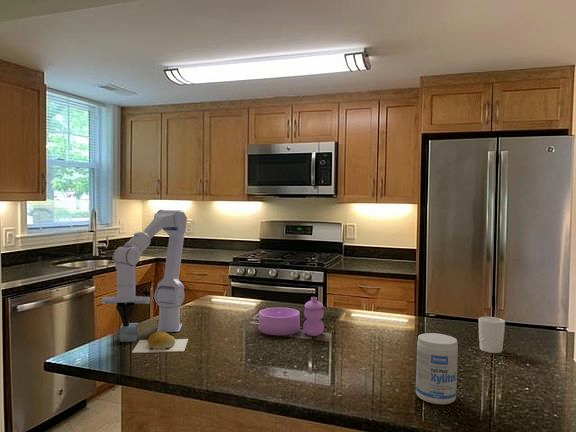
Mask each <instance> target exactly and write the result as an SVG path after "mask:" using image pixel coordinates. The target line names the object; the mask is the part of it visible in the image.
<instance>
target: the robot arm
mask: <svg viewBox="0 0 576 432" xmlns="http://www.w3.org/2000/svg"><path fill="white" fill-rule="evenodd" d="M187 221H188V217H187V215H186V213H185V211H183V210H182V209H178V210H174V209H172V210H171V209H159V210H157V212H156V213H154V216H153V219H152V221H151V222H150V223H149V224H148V225H147V226H146V227H145V229H144V230H143V231H138V232H135V233H134V234H133V236H132V237H131V238H130V239H129V240H128V241H126V242H125V244H124V245H122V246H119V247H117V248H116V249H115V250H114V252H113V255H112V256H111V257H112V261H113V263H114V266H115V268H114V269H115V270H116V296H105V297H102V298H101V305H112V304H113V305H116V307H115V309H116V310H117V312H118V314H119V315H120V318H121V322H122V324H123V327H128V326H129V323H131V322H130V321H131V317H132V314H133V311H134V309H135V307H136V305H137V304H145V305H149V304H150V303H151V296H141V295H140V296H139V295H136V292H137V291H136V285H137V283H136V281H137V280H136V278H137V277H136V274H137V272H136V265H137V264H138V263H139V261H140V258H141V256H142V254H143V252H144V251H145V250H146V249H147V248H148V247H149V246H150V245H151V241H152V240H151V239H152V238H153V237H154V236H156V235H157V234H158V233H160V231H161V230H163V231H164V233H167V235H168V243H167V251H166V258H165V266H164V267H165V268H164V274H163V278H162V279H161V280H159V281H158V283H157V285H156V289H155V292H154V295H153V297H154V301H155V303H157V306H159V307H158V308H159V317H158V319H159V325H158V328H157V330H156V332H165V333H178V332H179V333H180V330H181V329H182V326H183V323H180V314H181V313H180V312H181V311H180V309H181V306H182V304H183V303H184V301H185V284H184V283H182V282H181V281H180V279H179V278H180V271H181V264H182V256H183V248H184V239H185V233H186V228H187Z"/></svg>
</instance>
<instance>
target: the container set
mask: <svg viewBox="0 0 576 432" xmlns="http://www.w3.org/2000/svg"><path fill="white" fill-rule="evenodd" d="M304 308H305V309H304V311H303V316H304V317H305V319H306V320H305V321H304V322H303V327H302V329H303V331H304V333H305V334H306V335H308V336H313V337H315V336H320V335H321V334H322V333H323V332H324V329H325V326H324V322H323V320H321V319H323V317H324V315H325V312H324V310H323V308H324V305H323V303H322V302H321V301H318V297H316V296H311V297H310V300H308V301H306V302H305V304H304ZM300 314H301V313H300V311H299V310H297V309H295V308H290V307H267V308H264V309H261V310H259V311H258V331H259V332H260V333H263V334H266V335H269V336H270V335H272V336H287V335H293V334H296V333H298V332H299V331H300V325H301V324H300V320H301V318H300Z"/></svg>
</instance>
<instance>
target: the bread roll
mask: <svg viewBox="0 0 576 432" xmlns="http://www.w3.org/2000/svg"><path fill="white" fill-rule="evenodd" d="M175 339H176V338H175V337H174V336H173V335H170V334H169V333H168V332H157V331H156V332H154V333H152V334H151V335H150V336H149V337H148V338H147V340H148V341H147V342H148V344H149V346H151V347H152V348H154V349H165V348H169V347H171V346H173V345H174V344H175Z"/></svg>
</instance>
